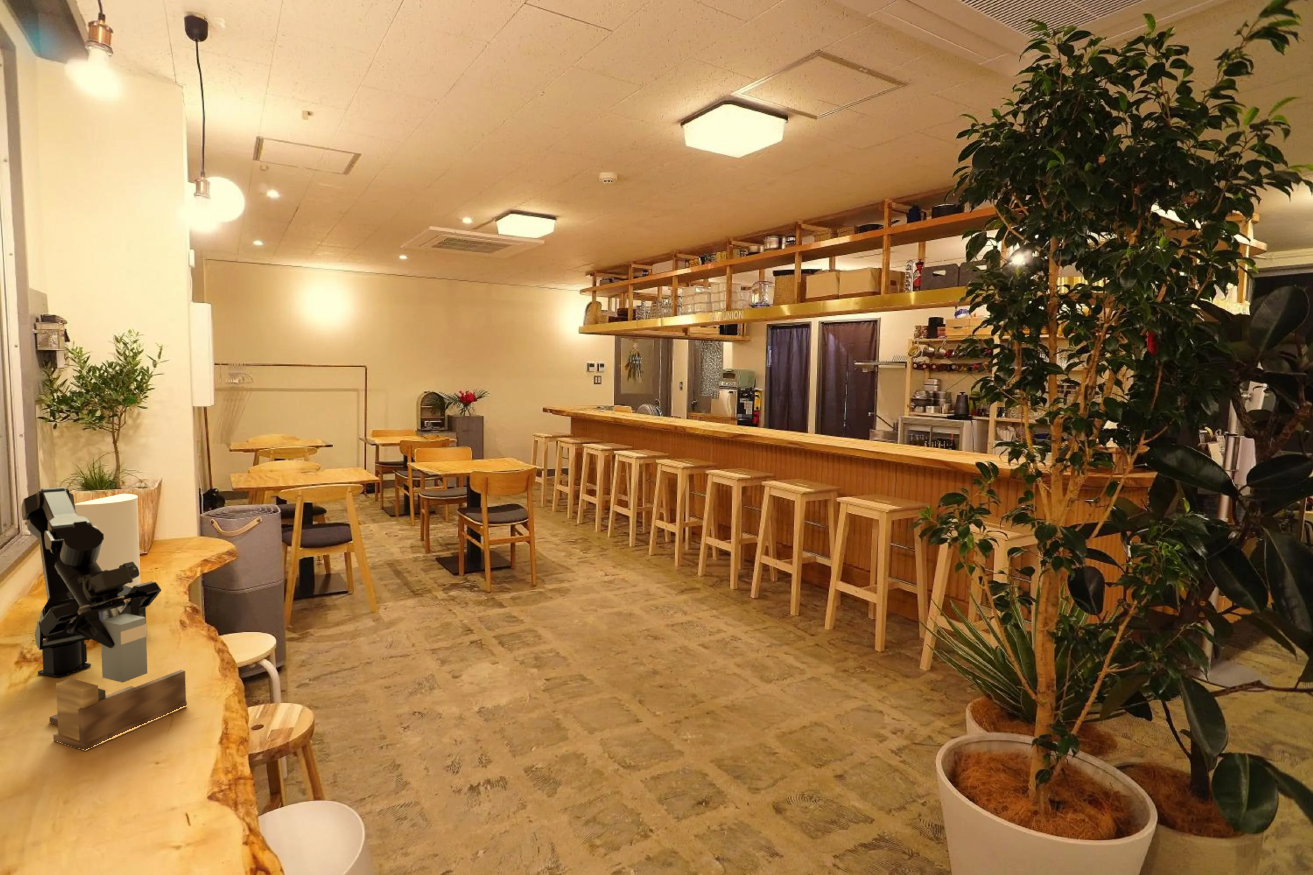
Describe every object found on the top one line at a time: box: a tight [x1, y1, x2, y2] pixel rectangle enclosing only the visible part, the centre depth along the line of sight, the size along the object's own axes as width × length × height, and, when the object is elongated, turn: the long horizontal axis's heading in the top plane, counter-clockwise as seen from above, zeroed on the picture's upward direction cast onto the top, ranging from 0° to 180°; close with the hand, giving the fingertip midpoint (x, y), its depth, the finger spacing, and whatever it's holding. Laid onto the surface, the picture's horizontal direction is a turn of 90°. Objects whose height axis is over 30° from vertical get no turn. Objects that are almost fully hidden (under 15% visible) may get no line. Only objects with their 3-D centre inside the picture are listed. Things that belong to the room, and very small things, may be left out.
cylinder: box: [75, 493, 141, 588], centre depth 194 cm, size 17×17×28 cm
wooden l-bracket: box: [49, 669, 188, 750], centre depth 128 cm, size 18×16×10 cm
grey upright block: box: [100, 613, 148, 684], centre depth 132 cm, size 5×6×11 cm
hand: (126, 641), depth 132 cm, fingers closed on grey upright block, 4 cm apart
